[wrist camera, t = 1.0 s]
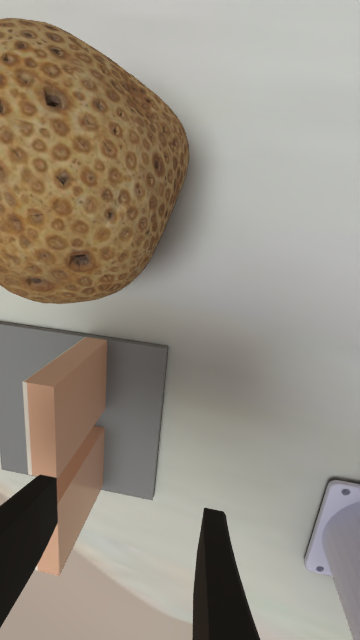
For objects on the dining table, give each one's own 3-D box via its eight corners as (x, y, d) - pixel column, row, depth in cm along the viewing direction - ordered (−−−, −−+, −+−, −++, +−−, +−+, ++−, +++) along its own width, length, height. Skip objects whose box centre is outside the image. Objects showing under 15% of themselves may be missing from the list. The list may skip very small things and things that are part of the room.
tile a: (107, 340, 18) (53, 387, 12) (105, 409, 19) (56, 480, 14) (84, 336, 18) (21, 381, 12) (84, 405, 19) (27, 474, 14)
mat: (168, 345, 18) (166, 348, 17) (154, 494, 21) (152, 500, 21) (-7, 320, 19) (-13, 322, 19) (6, 464, 23) (1, 469, 22)
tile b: (104, 427, 20) (57, 504, 14) (103, 484, 21) (59, 575, 15) (84, 424, 20) (29, 498, 14) (84, 480, 21) (33, 569, 16)
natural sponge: (14, 224, 17) (-242, 204, 8) (79, 70, 15) (-189, -252, 5) (139, 308, 18) (42, 390, 8) (225, 174, 15) (232, 57, 5)
